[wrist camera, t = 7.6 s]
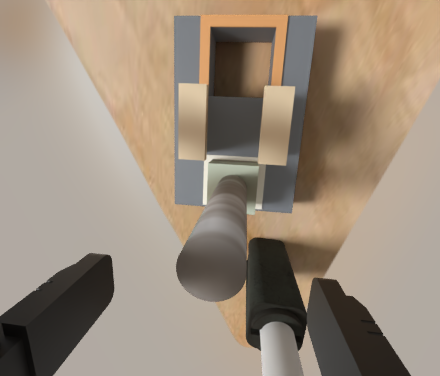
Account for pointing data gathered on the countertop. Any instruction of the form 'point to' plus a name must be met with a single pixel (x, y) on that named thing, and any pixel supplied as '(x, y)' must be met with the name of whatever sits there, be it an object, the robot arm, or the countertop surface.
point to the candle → (274, 308)
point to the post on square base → (220, 233)
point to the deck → (242, 100)
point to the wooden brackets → (270, 123)
